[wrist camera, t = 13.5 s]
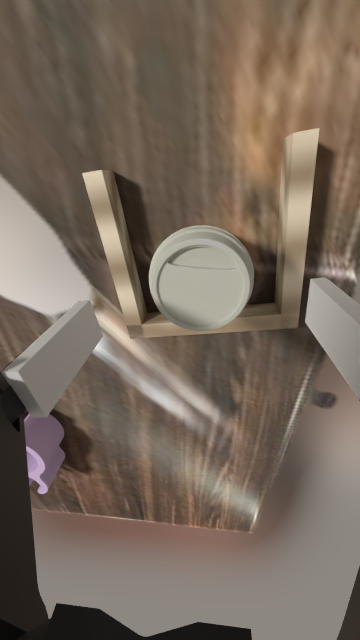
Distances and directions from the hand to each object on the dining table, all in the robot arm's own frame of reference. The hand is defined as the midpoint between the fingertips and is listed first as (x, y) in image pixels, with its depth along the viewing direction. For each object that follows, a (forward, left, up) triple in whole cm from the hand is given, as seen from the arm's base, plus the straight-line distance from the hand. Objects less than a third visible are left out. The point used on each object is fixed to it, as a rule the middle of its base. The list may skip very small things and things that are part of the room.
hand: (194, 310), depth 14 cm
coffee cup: (0, 0, -16) cm, 16 cm away
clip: (+35, -38, -16) cm, 54 cm away
